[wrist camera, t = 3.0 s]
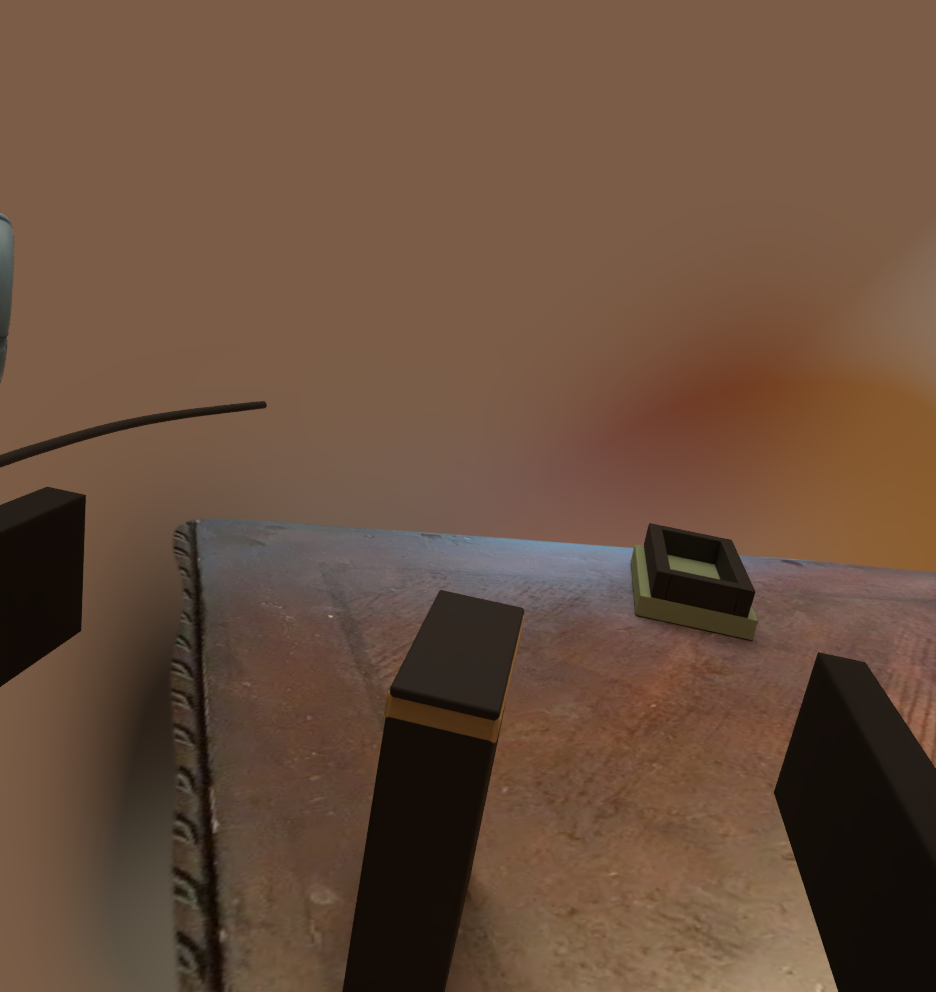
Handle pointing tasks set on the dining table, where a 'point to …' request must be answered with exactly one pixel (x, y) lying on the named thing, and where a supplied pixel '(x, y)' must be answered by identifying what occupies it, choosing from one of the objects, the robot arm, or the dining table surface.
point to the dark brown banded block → (431, 794)
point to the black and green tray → (693, 582)
